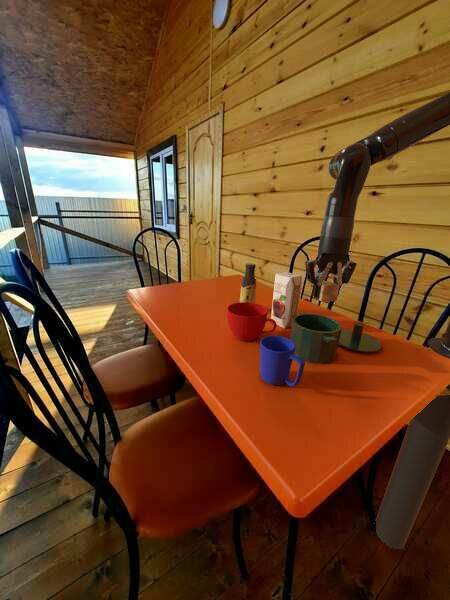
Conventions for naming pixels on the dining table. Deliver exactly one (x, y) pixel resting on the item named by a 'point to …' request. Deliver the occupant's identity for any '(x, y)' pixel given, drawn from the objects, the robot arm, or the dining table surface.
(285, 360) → the mug
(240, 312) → the ceramic cup
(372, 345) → the lid
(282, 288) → the juice carton
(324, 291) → the block
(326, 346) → the pot
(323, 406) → the dining table surface
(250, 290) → the sauce bottle
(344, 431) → the dining table surface
